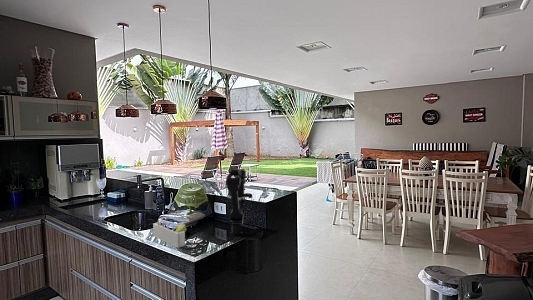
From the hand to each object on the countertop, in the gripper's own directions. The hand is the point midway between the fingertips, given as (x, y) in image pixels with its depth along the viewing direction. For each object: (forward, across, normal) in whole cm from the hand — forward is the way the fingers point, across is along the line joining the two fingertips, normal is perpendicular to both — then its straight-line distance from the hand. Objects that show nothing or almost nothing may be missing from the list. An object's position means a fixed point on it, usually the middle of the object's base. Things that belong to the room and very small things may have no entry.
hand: (240, 209), depth 203 cm
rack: (+12, +48, -10) cm, 51 cm away
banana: (+12, +39, -18) cm, 45 cm away
